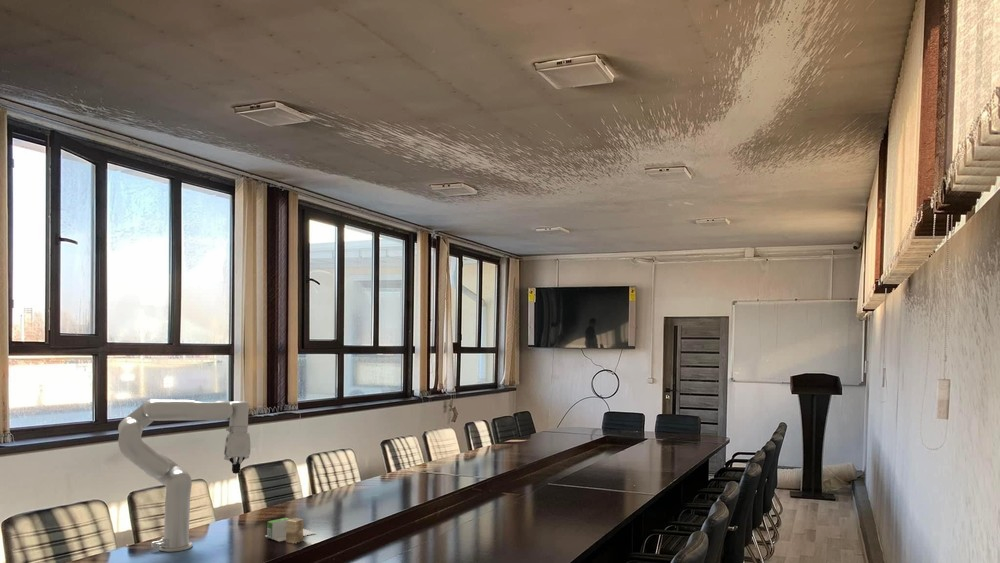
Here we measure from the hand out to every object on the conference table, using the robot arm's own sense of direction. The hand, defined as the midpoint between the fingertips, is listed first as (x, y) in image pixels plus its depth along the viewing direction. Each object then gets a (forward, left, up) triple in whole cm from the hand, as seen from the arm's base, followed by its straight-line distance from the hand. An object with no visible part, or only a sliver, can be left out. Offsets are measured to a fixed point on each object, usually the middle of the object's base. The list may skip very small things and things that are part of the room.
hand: (235, 473), depth 322 cm
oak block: (+18, -19, -29) cm, 39 cm away
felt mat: (+22, -9, -28) cm, 37 cm away
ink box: (+11, -9, -25) cm, 29 cm away
